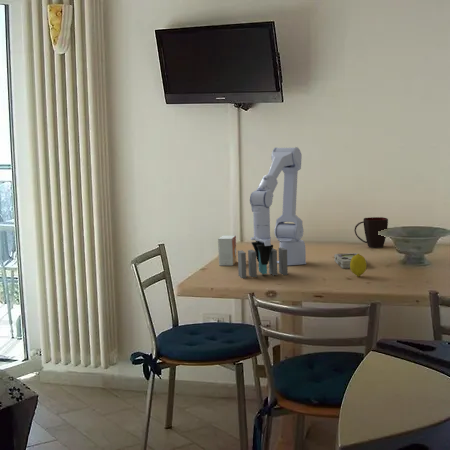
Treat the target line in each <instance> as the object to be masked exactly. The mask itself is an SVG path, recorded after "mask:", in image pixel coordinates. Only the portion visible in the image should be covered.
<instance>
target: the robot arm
mask: <svg viewBox="0 0 450 450" xmlns="http://www.w3.org/2000/svg"><path fill="white" fill-rule="evenodd" d="M270 155H271V164H270V167H269V170H268V173H267V174H264V175H263V177H262V179H261V180H260V182H259V184H258V186H257V188H256V190H254V191H252V192H251V193H250V196H249V204H250V207H251V212H252V213H253V214H252V216H253V217H252V218H253V221H252V222H253V237H250V240H251V241H252V242H251V245H252V247H253V250H254V251H255V252H256V262H258V263H259V257H258V250H259V253H260V259H261V263H262V265H266V264H267V265H269V257H270V253H271V250H272V248H273V249H274V245H273V244H271V243H272V242H271V239H272V236H271V222H270V221H271V218H270V216H271V214H270V213H271V212H270V210H271V209H270V207H272V204H273V199H274V192H275V191H276V188H277V185H278V183H279V182H278V180H277V179H278V177H279V176H280V174H281V172H283V174H284V176H283V194H282V214H281V215H280V216H279V217H278V218H276V221H275V226H274V230H273V231H274V232H273V233H274V236H275V238H276V239H277V241H278V242H279V248H282V247H283V248H285V249H287V267H288V266H298V265H299V266H302V265H307V261H306V259H307V257H306V256H307V255H306V243H305V240H303V239H302V238H303V237H304V227H303V220H302V219H301V218H300V217H299V216H298V215H297V214H296V211H297V196H298V195H297V193H298V190H297V189H298V171H300V170H301V169H302V160H303V159H302V152H301V150H300V148H299V147H298V146H295V147H274V148H273V149H272V151H271V154H270ZM277 264H279V260H277Z"/></svg>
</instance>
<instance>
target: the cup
mask: <svg viewBox="0 0 450 450" xmlns="http://www.w3.org/2000/svg"><path fill="white" fill-rule="evenodd" d="M362 224H363V229H364V234H365V235H364V236H365V240H363V239H362V238H361V237H360V236H359V235H358V233H357V228H358V226H359V225H362ZM388 224H389V218H387V217H383V216H380V217H379V216H377V217H375V216H373V217H371V216H370V217H364V218H363V221H360V222H358V223H357V224H356V225H355V226H354V233H355V236H356V238H357V239H358V240H359V241H361V242H363V243H366V245H367V246H368V248H370V249H383V248H384V246H385V245H384V244H385V242H386V238H387V236H386V237H384V236H381V235H378V231H381V230H384V229H387V230H388Z"/></svg>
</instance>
